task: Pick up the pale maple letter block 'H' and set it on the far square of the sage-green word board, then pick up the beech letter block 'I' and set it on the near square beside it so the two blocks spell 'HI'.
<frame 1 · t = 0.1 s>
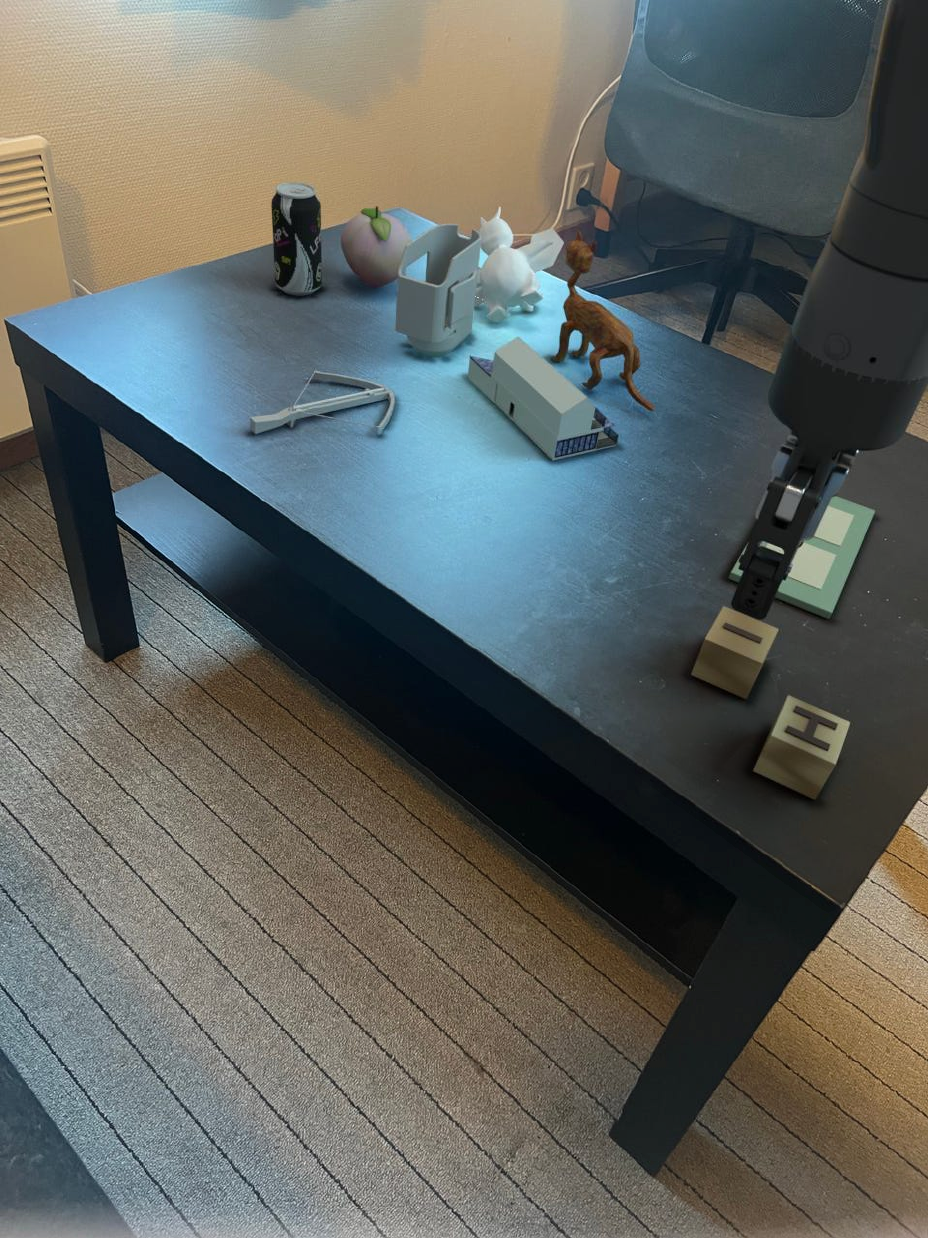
hand: (767, 574, 59), 14 cm above the table, tool pointing down, fingers open, 8 cm apart
character figurine: (498, 309, 117), on the table
building: (532, 415, 99), on the table
tile I: (727, 669, 73), on the table
decorative fruit: (376, 288, 118), on the table
word board: (804, 546, 86), on the table
crossbow: (324, 416, 95), on the table
tile H: (791, 764, 67), on the table
cat figurine: (598, 383, 105), on the table
cable organizer: (433, 347, 108), on the table
beverage can: (298, 290, 116), on the table
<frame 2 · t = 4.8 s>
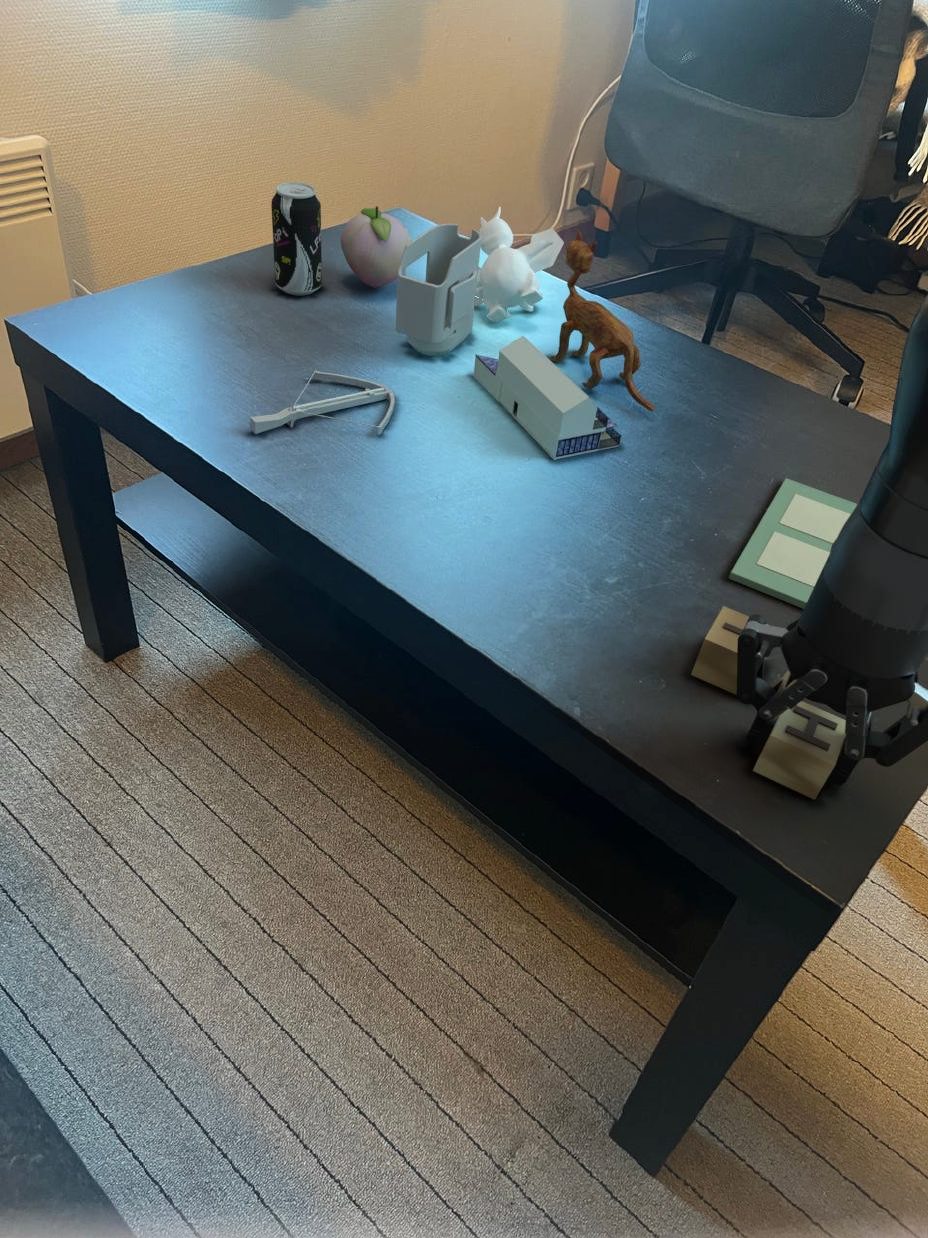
hand: (793, 761, 66), 0 cm above the table, tool pointing down, fingers closed on tile H, 4 cm apart
tile H: (791, 764, 67), on the table, touching gripper
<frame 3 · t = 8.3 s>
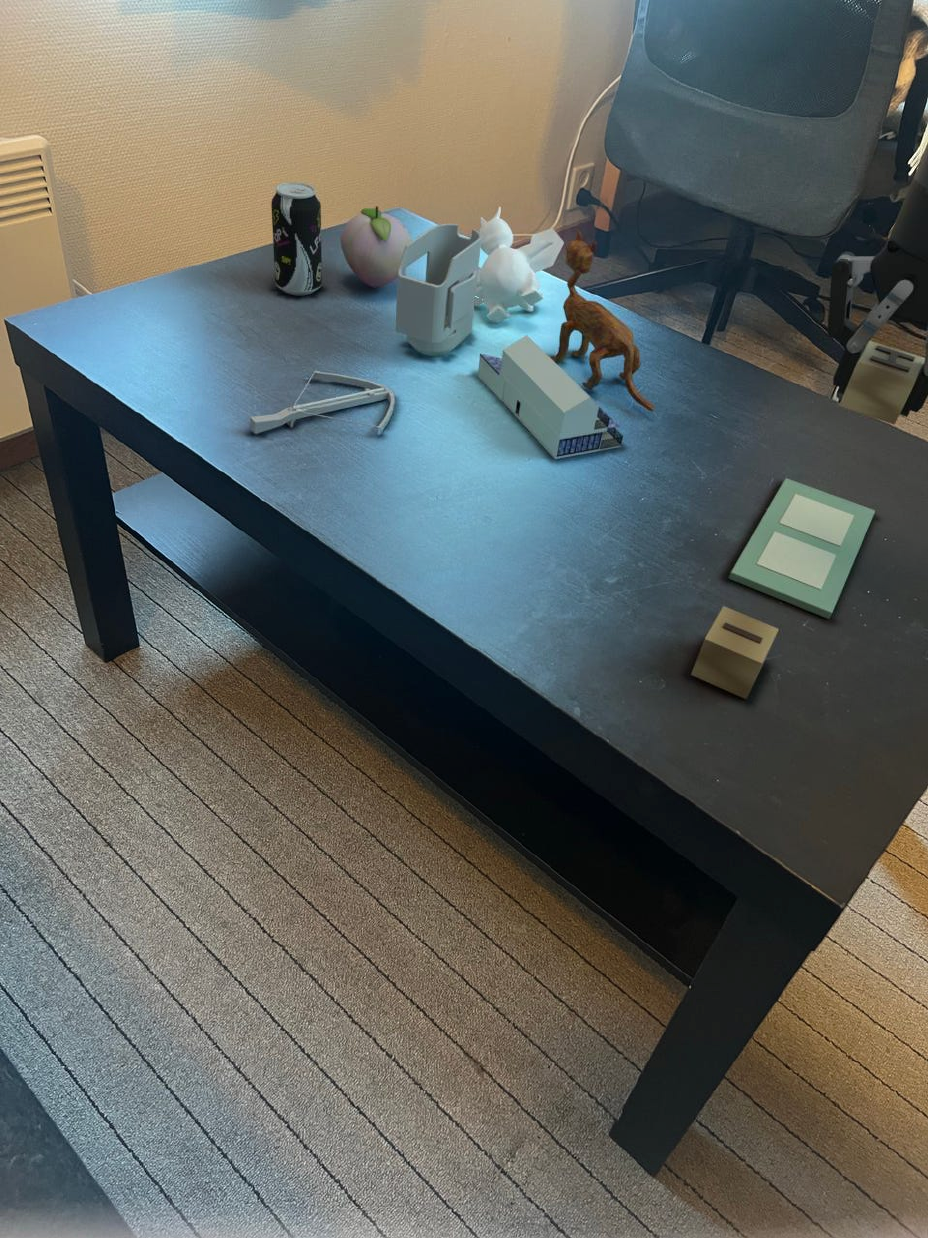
hand: (873, 400, 76), 15 cm above the table, tool pointing down, fingers closed on tile H, 4 cm apart
tile H: (871, 404, 76), point 15 cm above the table, touching gripper
when the fingers open (1 cm above the table, at t = 12.1 s): tile H stays where it is, resting on word board.
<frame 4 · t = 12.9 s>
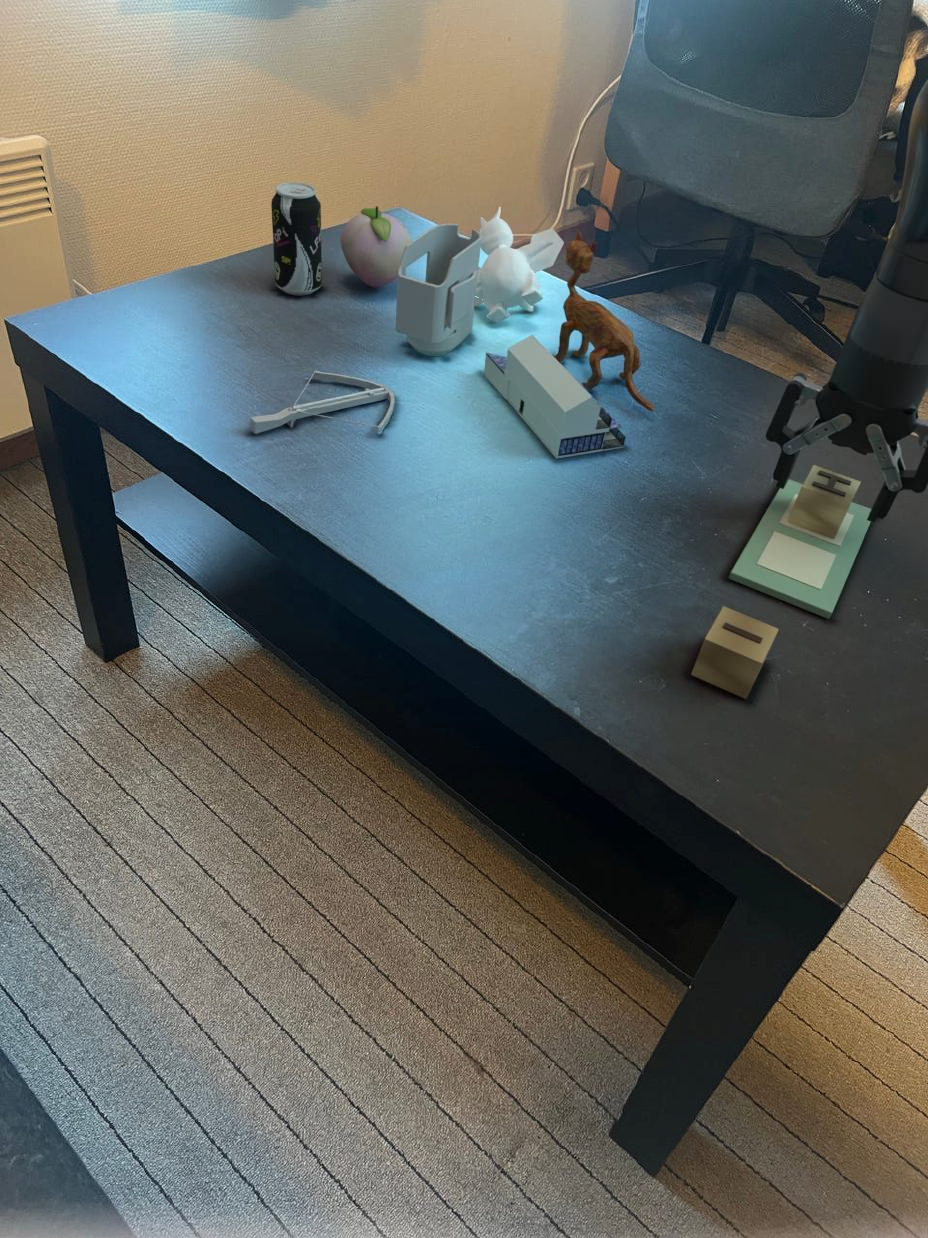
hand: (826, 500, 86), 3 cm above the table, tool pointing down, fingers open, 8 cm apart
tile H: (816, 518, 88), point 1 cm above the table, touching word board
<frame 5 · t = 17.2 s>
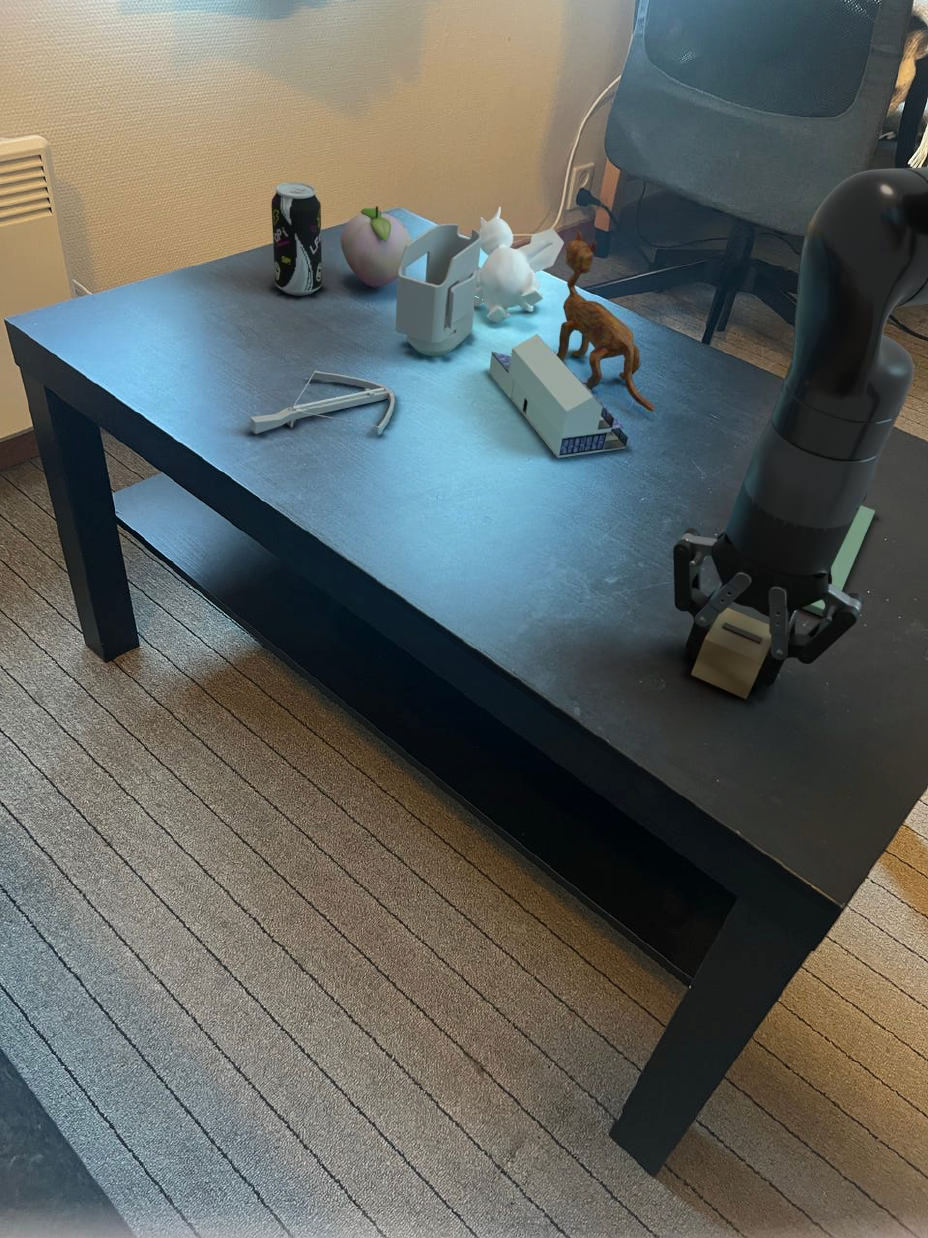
hand: (728, 667, 73), 0 cm above the table, tool pointing down, fingers closed on tile I, 4 cm apart
tile I: (727, 669, 73), on the table, touching gripper
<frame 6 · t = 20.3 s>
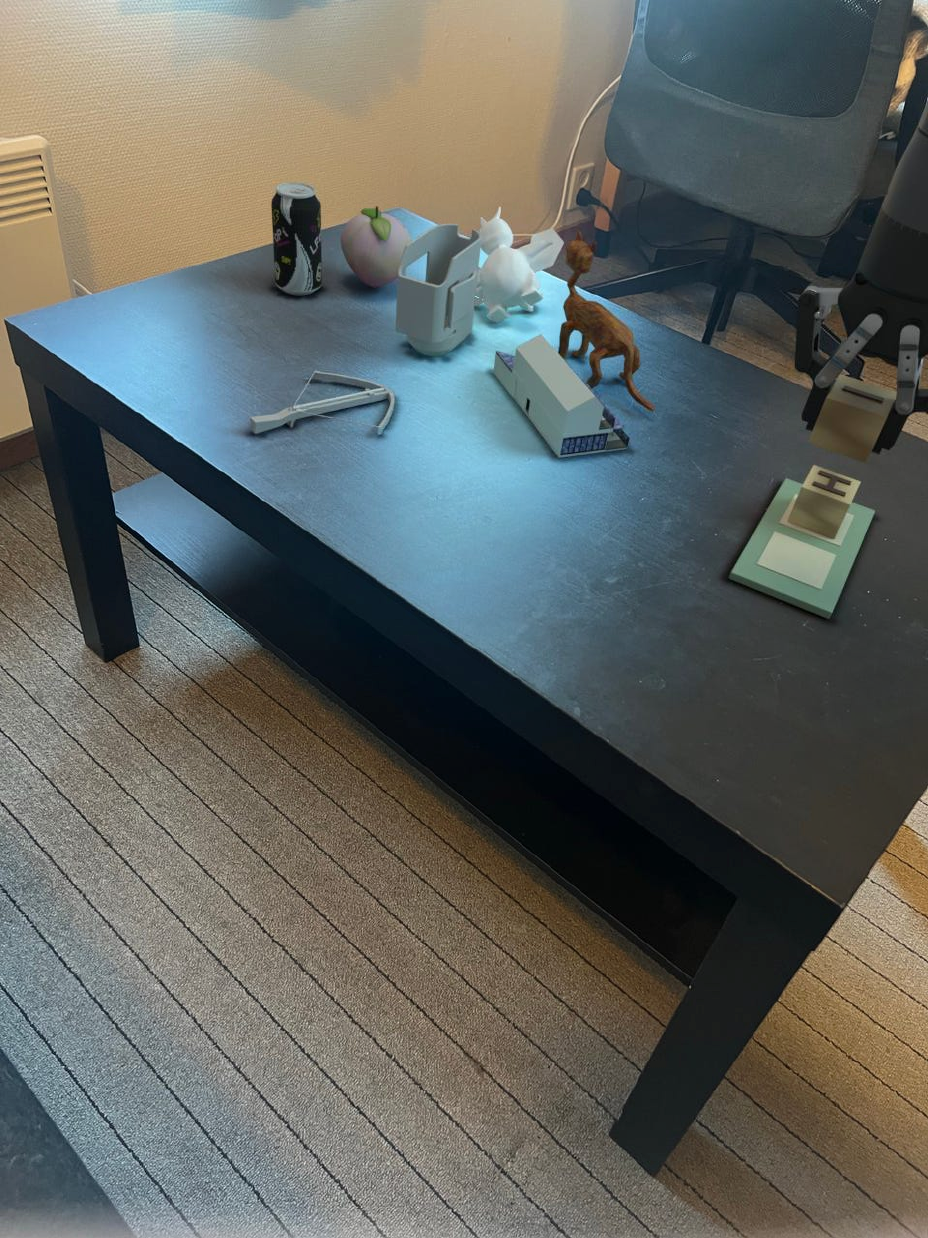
hand: (844, 436, 72), 15 cm above the table, tool pointing down, fingers closed on tile I, 4 cm apart
tile I: (842, 440, 72), point 14 cm above the table, touching gripper
when the fingers open (1 cm above the table, at t = 23.8 s): tile I stays where it is, resting on word board.
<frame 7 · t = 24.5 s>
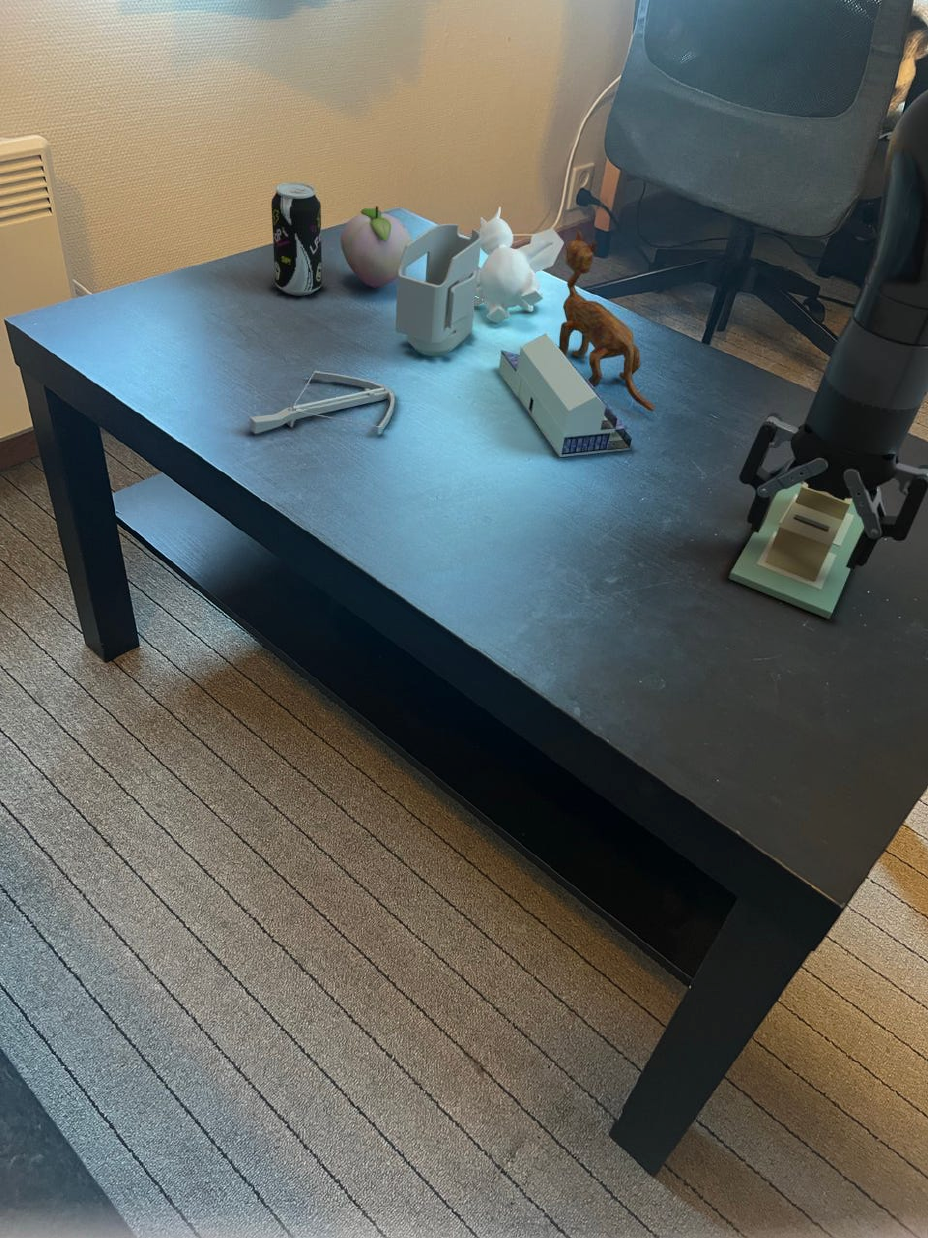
hand: (803, 545, 82), 2 cm above the table, tool pointing down, fingers open, 8 cm apart
tile I: (796, 559, 83), point 1 cm above the table, touching word board
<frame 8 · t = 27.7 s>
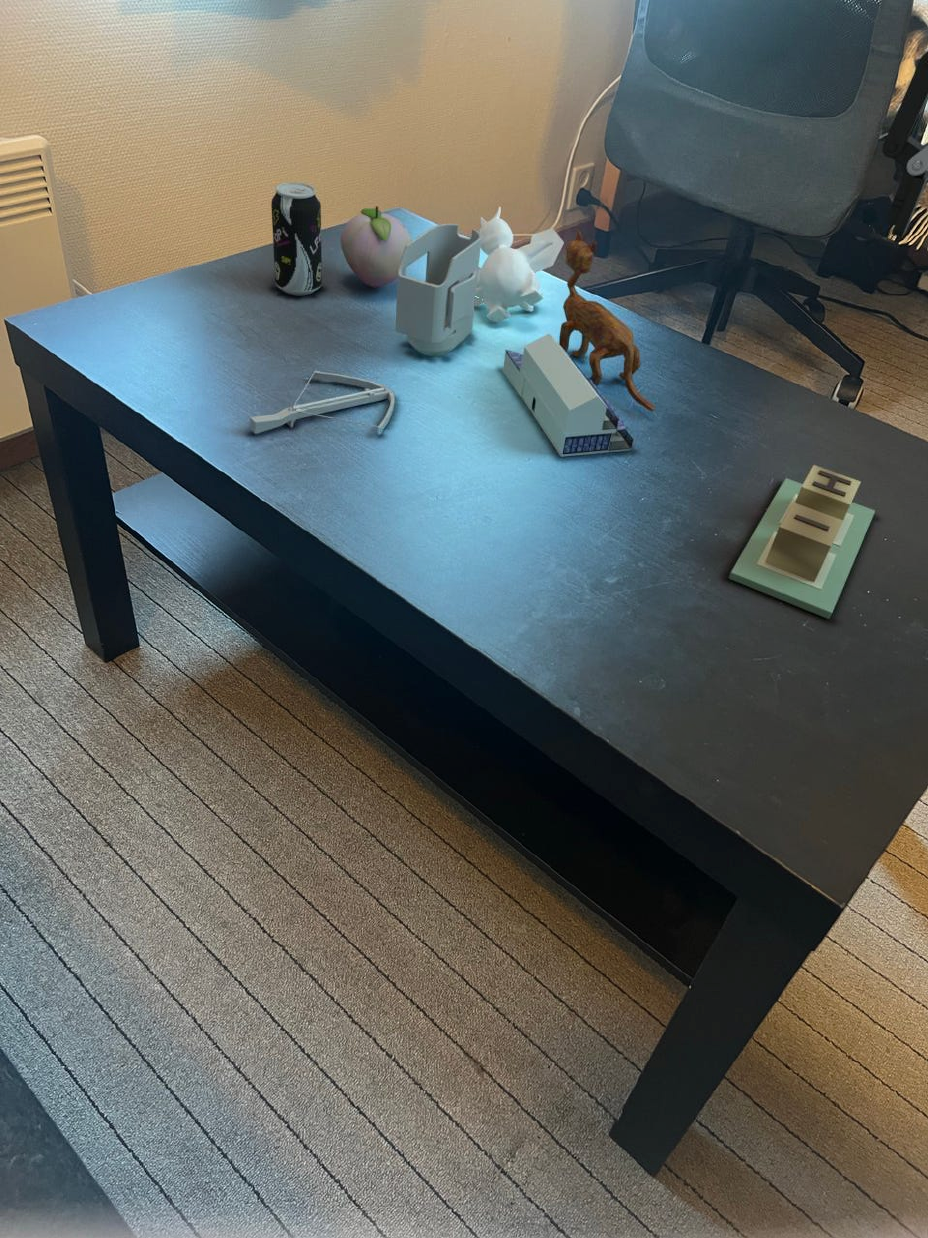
at the end: tile H 0.1 cm from the target spot on the word board, point 0.9 cm above the word board's base; tile I 0.1 cm from the target spot on the word board, point 0.9 cm above the word board's base; tile H tilted 0° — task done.
